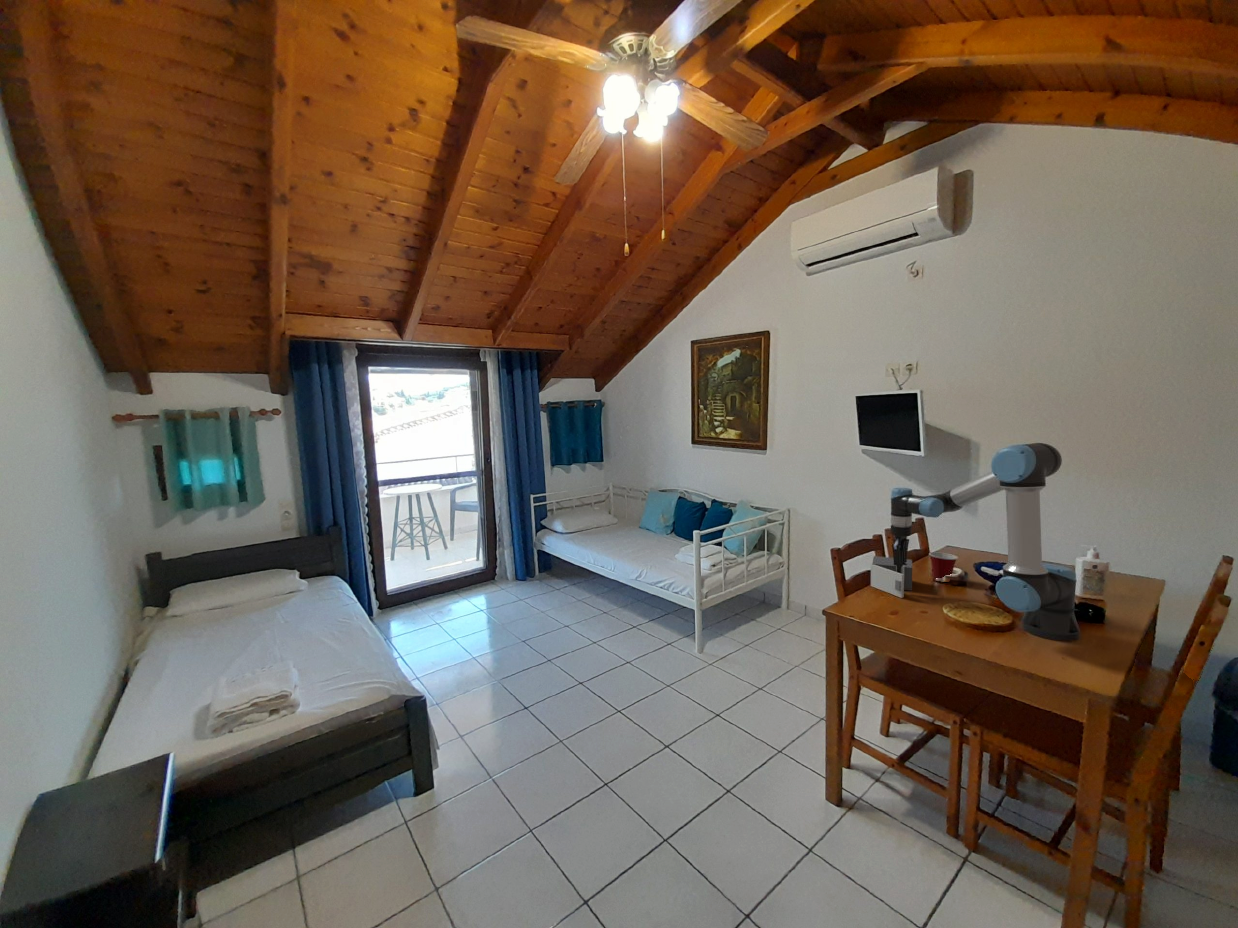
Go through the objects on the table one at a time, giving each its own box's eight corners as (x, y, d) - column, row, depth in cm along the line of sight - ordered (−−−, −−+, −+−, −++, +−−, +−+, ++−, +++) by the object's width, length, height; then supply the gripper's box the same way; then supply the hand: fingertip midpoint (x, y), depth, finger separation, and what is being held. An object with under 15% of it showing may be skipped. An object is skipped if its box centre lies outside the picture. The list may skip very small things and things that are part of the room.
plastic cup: (963, 583, 215) (964, 556, 214) (942, 586, 213) (943, 559, 211) (942, 575, 226) (942, 549, 224) (922, 578, 223) (922, 552, 222)
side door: (900, 598, 202) (900, 575, 201) (868, 585, 216) (869, 564, 215) (903, 597, 202) (904, 574, 201) (871, 585, 217) (872, 563, 216)
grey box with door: (911, 590, 209) (912, 567, 208) (872, 586, 217) (872, 563, 215) (911, 580, 221) (911, 558, 220) (873, 576, 229) (873, 555, 227)
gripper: (897, 521, 212) (896, 574, 214) (885, 526, 203) (884, 582, 206) (916, 523, 206) (915, 578, 209) (905, 529, 197) (904, 586, 200)
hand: (899, 580), depth 207 cm, fingers closed
